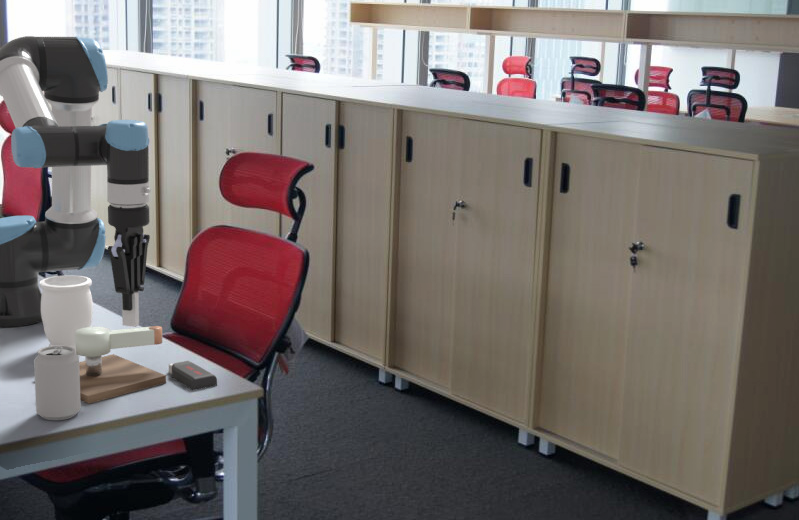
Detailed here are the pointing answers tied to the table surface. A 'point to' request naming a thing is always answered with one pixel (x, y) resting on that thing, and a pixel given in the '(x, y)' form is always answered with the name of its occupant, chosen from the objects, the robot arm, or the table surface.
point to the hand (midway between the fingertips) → (130, 324)
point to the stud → (93, 365)
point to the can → (57, 382)
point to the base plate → (116, 379)
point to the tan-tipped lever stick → (114, 339)
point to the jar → (65, 308)
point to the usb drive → (192, 375)
